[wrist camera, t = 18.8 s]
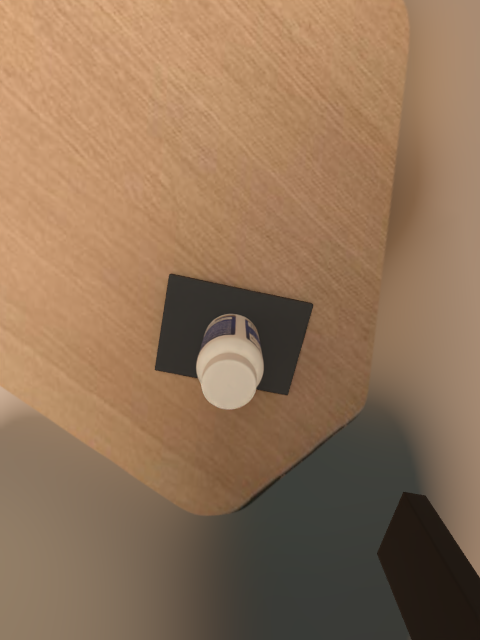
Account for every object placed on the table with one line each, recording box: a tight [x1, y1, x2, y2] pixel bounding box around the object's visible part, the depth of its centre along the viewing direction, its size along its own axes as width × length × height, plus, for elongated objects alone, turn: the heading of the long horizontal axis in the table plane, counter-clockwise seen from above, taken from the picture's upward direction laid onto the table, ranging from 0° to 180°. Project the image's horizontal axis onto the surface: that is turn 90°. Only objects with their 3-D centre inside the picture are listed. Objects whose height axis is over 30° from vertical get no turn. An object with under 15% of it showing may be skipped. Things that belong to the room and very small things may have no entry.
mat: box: [155, 274, 313, 395], centre depth 34 cm, size 14×10×1 cm
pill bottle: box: [196, 314, 264, 409], centre depth 29 cm, size 5×5×10 cm
